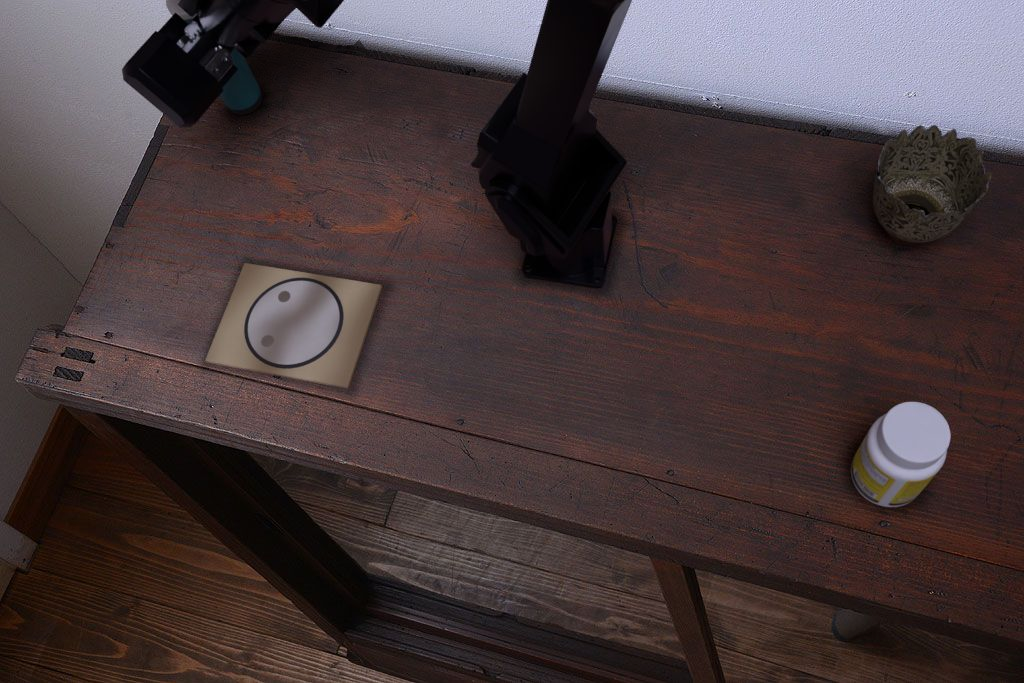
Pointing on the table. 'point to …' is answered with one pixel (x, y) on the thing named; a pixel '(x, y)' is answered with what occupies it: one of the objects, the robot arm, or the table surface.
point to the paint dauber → (242, 86)
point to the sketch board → (295, 325)
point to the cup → (927, 184)
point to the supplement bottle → (901, 454)
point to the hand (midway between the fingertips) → (204, 43)
